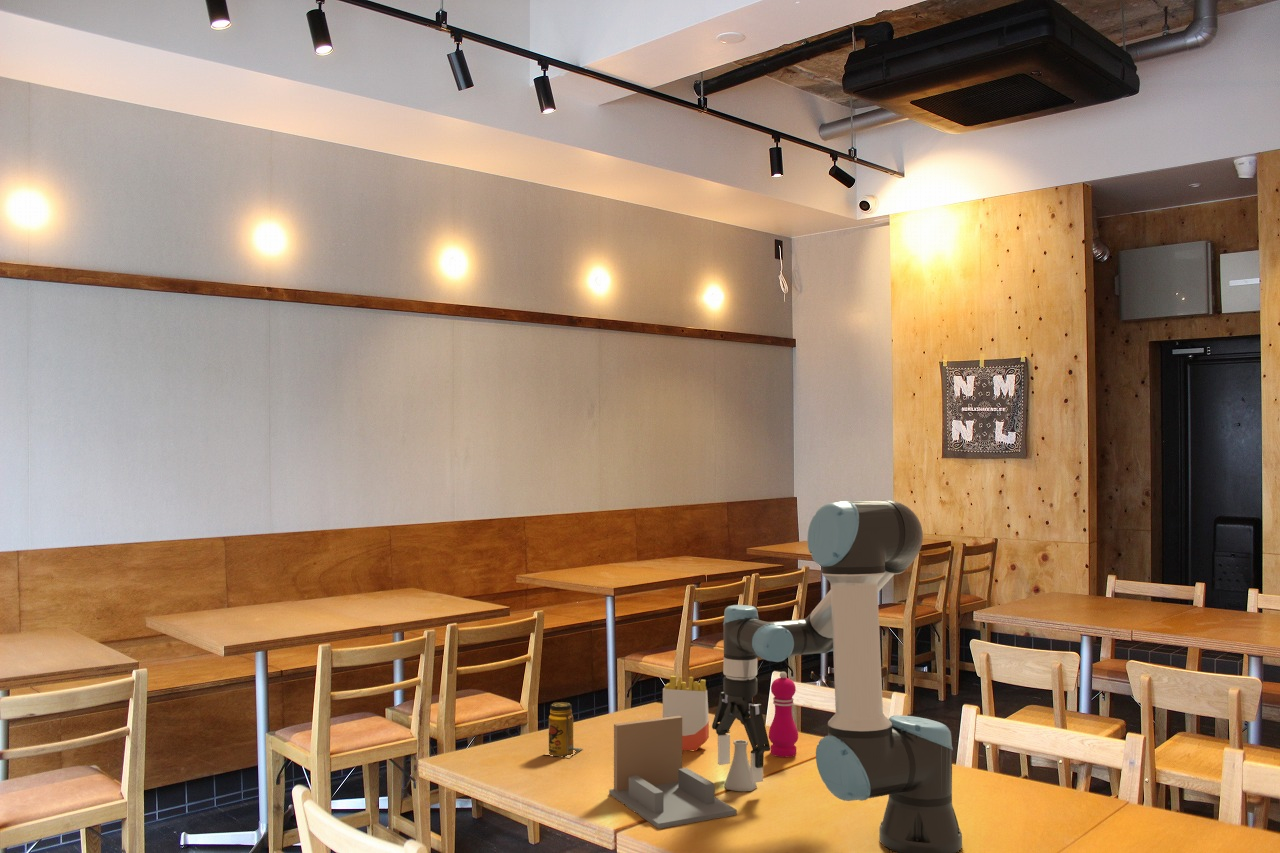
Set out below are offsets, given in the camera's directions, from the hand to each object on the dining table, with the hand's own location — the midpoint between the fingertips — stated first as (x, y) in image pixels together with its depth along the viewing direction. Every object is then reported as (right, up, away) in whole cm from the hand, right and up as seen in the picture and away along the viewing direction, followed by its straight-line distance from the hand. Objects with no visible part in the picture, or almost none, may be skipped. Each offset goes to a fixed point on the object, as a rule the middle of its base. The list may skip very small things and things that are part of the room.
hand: (739, 772), depth 230 cm
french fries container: (-11, -4, +30) cm, 32 cm away
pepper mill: (+13, -4, +25) cm, 29 cm away
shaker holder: (-15, -3, -12) cm, 20 cm away
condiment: (-41, -4, +26) cm, 49 cm away
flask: (0, -3, 0) cm, 3 cm away
